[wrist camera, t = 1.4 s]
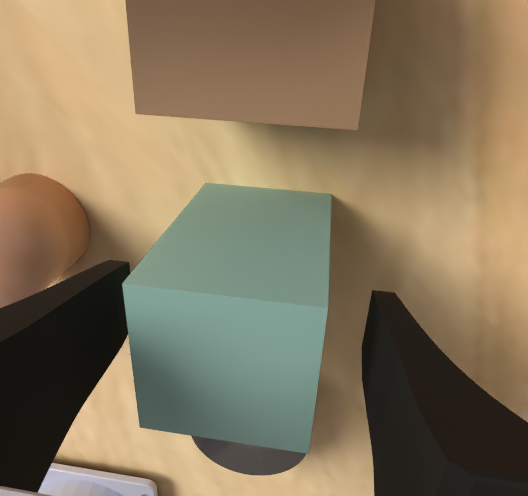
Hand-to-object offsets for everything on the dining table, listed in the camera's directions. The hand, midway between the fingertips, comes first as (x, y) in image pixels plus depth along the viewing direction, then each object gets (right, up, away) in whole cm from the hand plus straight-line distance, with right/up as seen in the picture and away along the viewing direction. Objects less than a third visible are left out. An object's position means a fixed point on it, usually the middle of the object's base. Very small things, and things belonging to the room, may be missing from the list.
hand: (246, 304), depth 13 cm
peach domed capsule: (-8, +3, +5) cm, 10 cm away
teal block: (+1, +2, +4) cm, 4 cm away
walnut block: (+1, +9, 0) cm, 9 cm away
